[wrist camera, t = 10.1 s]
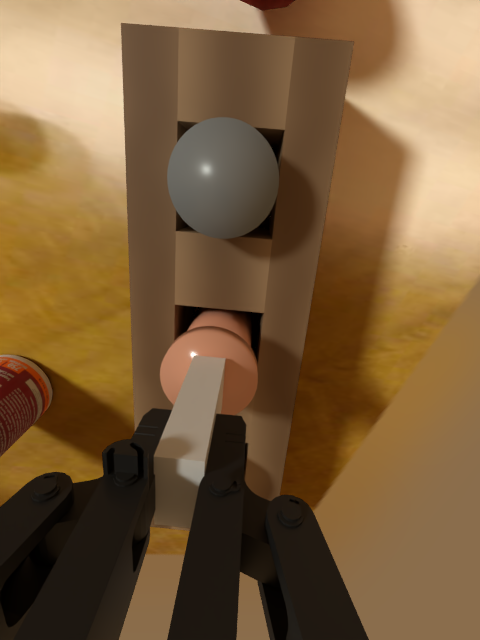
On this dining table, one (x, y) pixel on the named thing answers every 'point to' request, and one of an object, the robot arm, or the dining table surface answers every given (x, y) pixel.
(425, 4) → the dining table surface
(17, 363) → the pill bottle
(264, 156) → the plug blue-grey
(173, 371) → the plug terracotta
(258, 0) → the onion
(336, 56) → the socket block
